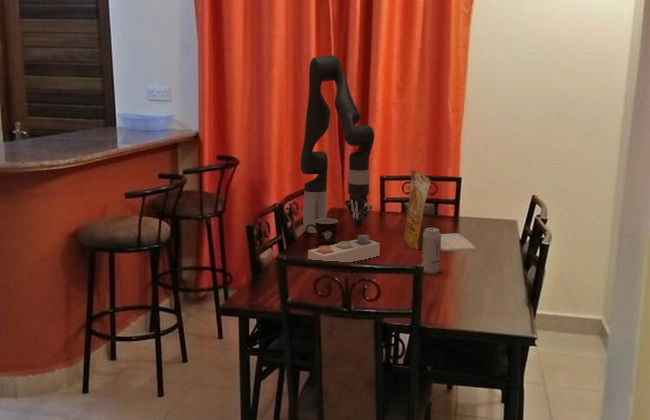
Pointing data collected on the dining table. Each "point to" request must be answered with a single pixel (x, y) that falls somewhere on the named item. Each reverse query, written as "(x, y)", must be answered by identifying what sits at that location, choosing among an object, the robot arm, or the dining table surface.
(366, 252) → the console
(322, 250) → the button terracotta
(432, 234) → the energy drink can
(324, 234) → the coffee mug
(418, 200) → the pancake mix bag
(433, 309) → the dining table surface
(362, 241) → the button slate
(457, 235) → the calculator
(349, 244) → the button sage
